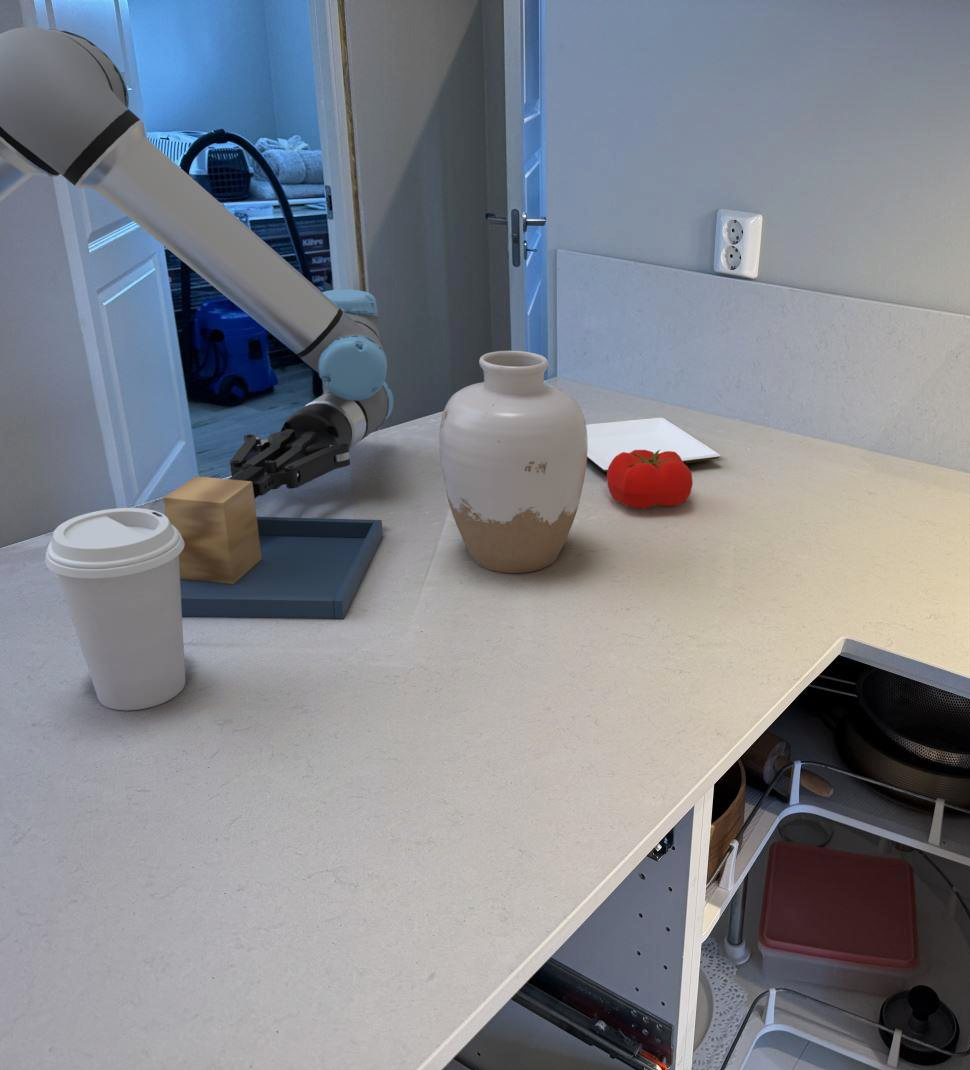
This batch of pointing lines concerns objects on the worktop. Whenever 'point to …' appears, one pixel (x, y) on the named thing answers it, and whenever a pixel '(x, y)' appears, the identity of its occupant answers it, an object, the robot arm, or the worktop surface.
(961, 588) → the worktop surface
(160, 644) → the coffee cup
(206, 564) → the block
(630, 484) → the tomato
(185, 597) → the tray
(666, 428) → the plate
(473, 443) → the vase
